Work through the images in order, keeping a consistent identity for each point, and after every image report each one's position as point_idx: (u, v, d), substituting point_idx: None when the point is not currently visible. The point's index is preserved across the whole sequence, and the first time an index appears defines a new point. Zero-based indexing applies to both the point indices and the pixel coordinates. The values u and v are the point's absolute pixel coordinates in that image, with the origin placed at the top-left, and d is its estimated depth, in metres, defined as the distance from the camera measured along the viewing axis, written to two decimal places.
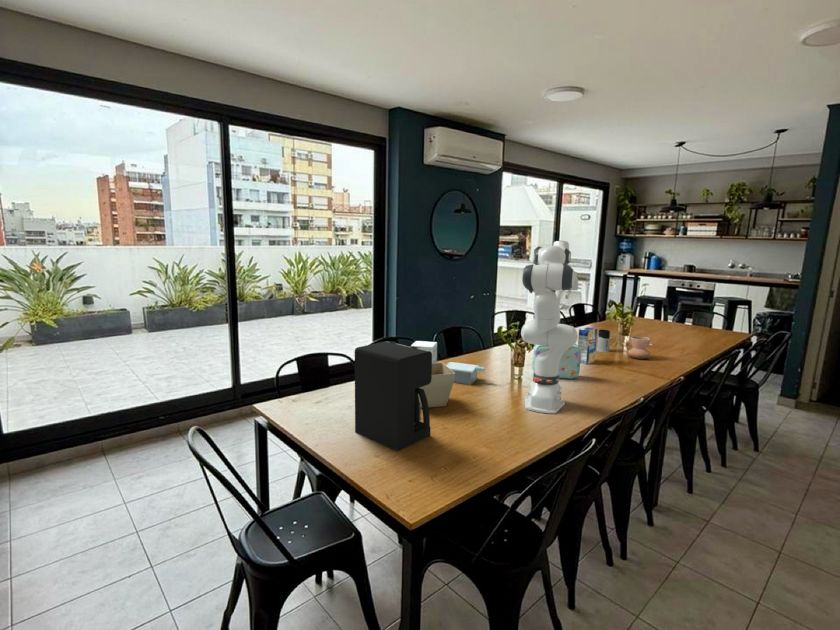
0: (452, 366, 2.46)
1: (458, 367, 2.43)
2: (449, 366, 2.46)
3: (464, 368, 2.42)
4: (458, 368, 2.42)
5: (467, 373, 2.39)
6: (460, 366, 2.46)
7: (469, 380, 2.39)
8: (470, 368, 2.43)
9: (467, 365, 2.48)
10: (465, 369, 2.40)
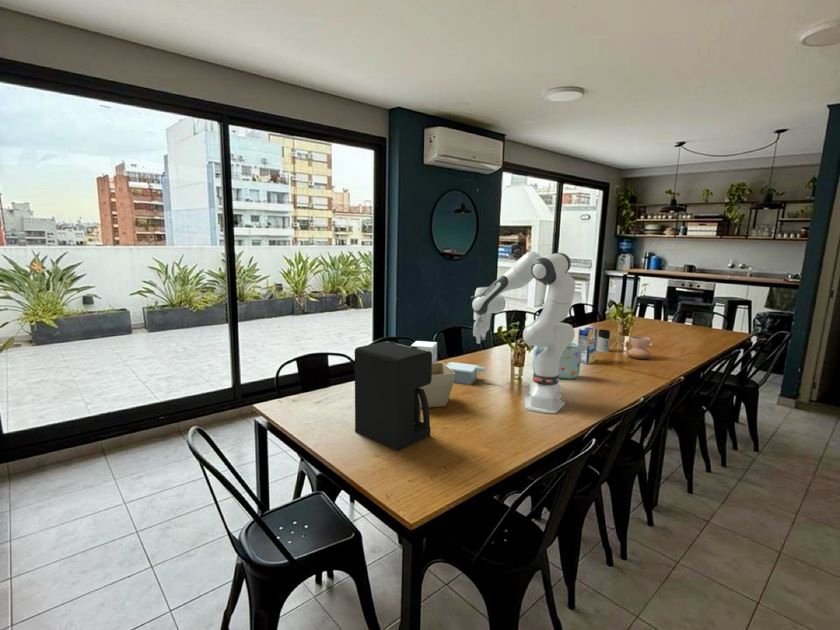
0: (452, 366, 2.46)
1: (458, 367, 2.43)
2: (449, 366, 2.46)
3: (464, 368, 2.42)
4: (458, 368, 2.42)
5: (467, 373, 2.39)
6: (460, 366, 2.46)
7: (469, 380, 2.39)
8: (470, 368, 2.43)
9: (467, 365, 2.48)
10: (465, 369, 2.40)
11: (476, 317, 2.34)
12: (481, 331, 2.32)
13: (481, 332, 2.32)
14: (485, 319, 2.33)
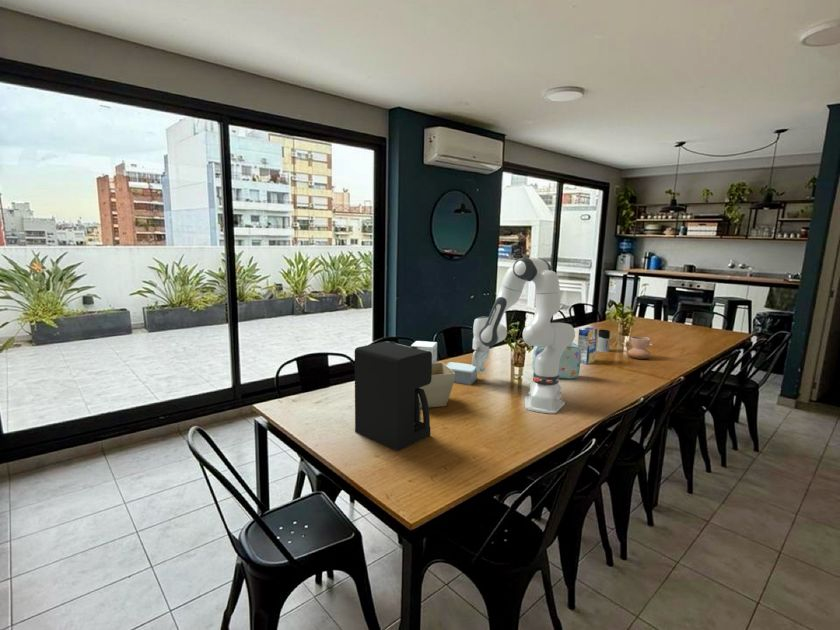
0: (452, 366, 2.46)
1: (458, 367, 2.43)
2: (449, 366, 2.46)
3: (464, 368, 2.42)
4: (458, 368, 2.42)
5: (467, 373, 2.39)
6: (460, 366, 2.46)
7: (469, 380, 2.39)
8: (470, 368, 2.43)
9: (467, 365, 2.48)
10: (465, 369, 2.40)
11: (475, 347, 2.37)
12: (480, 361, 2.34)
13: (480, 362, 2.35)
14: (484, 349, 2.36)
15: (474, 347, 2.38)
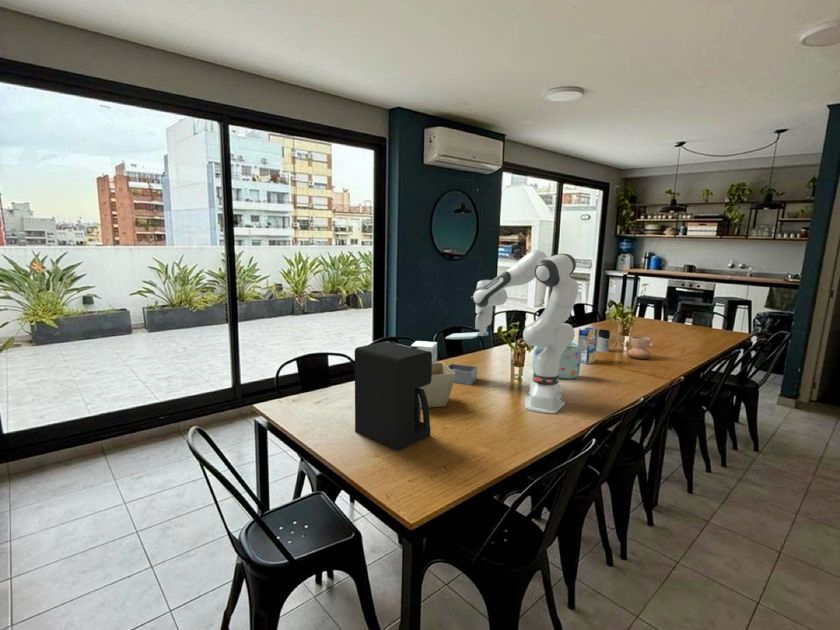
0: (455, 335, 2.42)
1: (461, 335, 2.40)
2: (452, 336, 2.42)
3: (467, 335, 2.39)
4: (461, 336, 2.39)
5: (467, 373, 2.39)
6: (463, 334, 2.43)
7: (469, 380, 2.39)
8: (473, 334, 2.39)
9: (470, 333, 2.45)
10: (468, 335, 2.37)
11: (478, 310, 2.33)
12: (483, 324, 2.31)
13: (483, 325, 2.31)
14: (487, 312, 2.32)
15: (477, 311, 2.34)
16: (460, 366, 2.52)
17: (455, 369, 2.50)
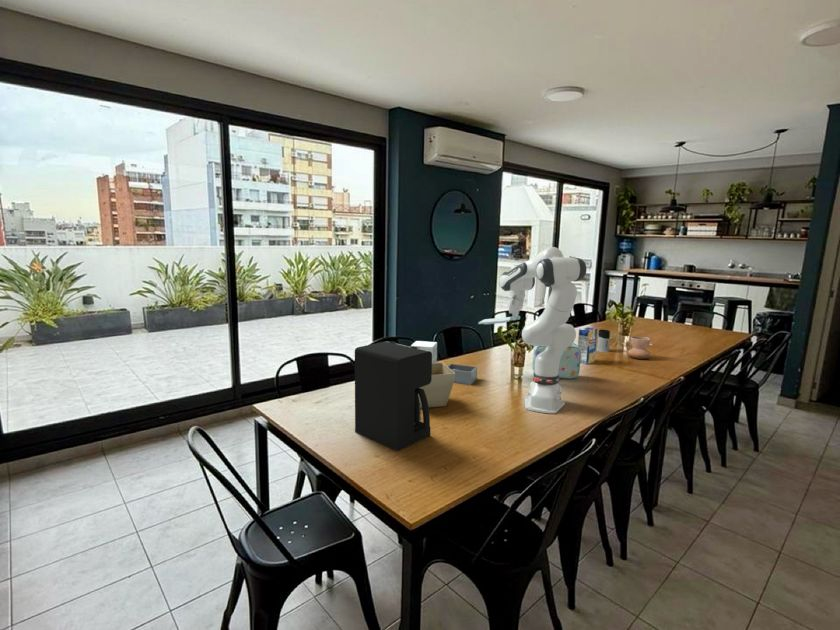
0: (487, 320, 2.49)
1: (494, 320, 2.47)
2: (484, 321, 2.49)
3: (500, 320, 2.46)
4: (494, 320, 2.46)
5: (467, 373, 2.39)
6: (495, 319, 2.50)
7: (469, 380, 2.39)
8: (505, 319, 2.46)
9: (502, 318, 2.52)
10: (501, 320, 2.44)
11: (511, 295, 2.40)
12: (516, 308, 2.38)
13: (516, 309, 2.38)
14: (520, 297, 2.39)
15: (510, 295, 2.41)
16: (460, 366, 2.52)
17: (455, 369, 2.50)
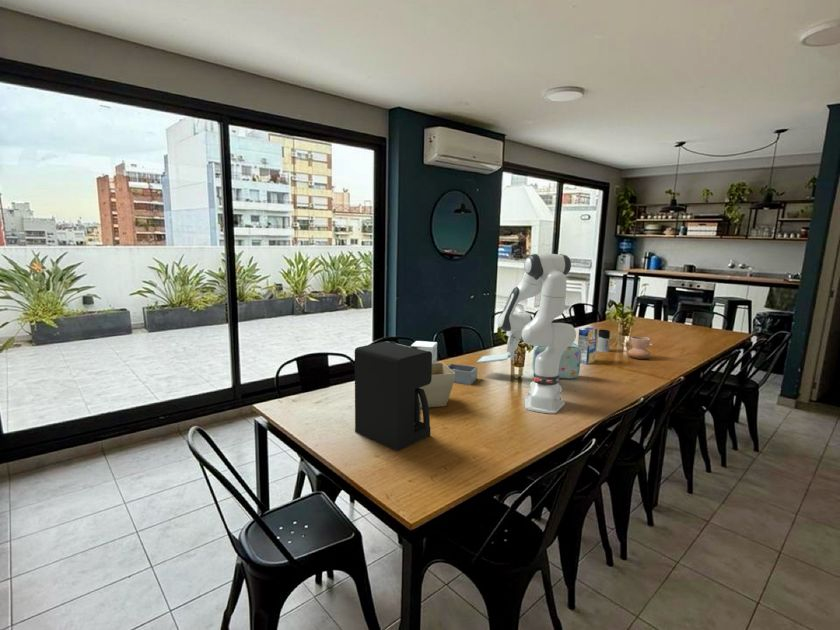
0: (486, 359, 2.53)
1: (492, 358, 2.50)
2: (483, 359, 2.53)
3: (498, 358, 2.49)
4: (492, 359, 2.49)
5: (467, 373, 2.39)
6: (494, 357, 2.53)
7: (469, 380, 2.39)
8: (503, 356, 2.50)
9: (500, 355, 2.56)
10: (499, 358, 2.48)
11: (509, 333, 2.44)
12: (514, 347, 2.41)
13: (514, 348, 2.41)
14: (518, 335, 2.43)
15: (508, 334, 2.44)
16: (460, 366, 2.52)
17: (455, 369, 2.50)
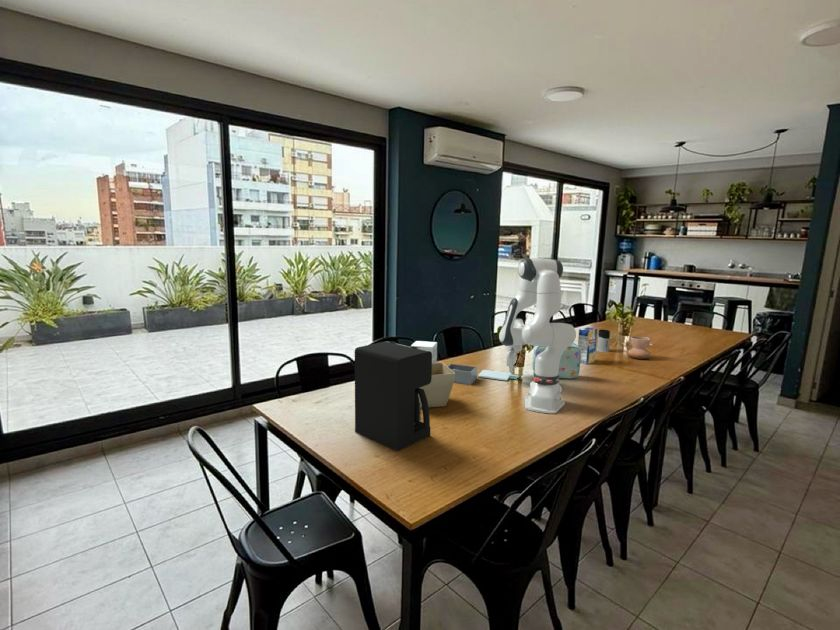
0: (486, 374, 2.54)
1: (493, 375, 2.52)
2: (484, 374, 2.54)
3: (499, 376, 2.51)
4: (493, 376, 2.50)
5: (467, 373, 2.39)
6: (494, 374, 2.54)
7: (469, 380, 2.39)
8: (504, 376, 2.51)
9: (501, 373, 2.57)
10: (500, 377, 2.49)
11: (509, 347, 2.45)
12: (514, 361, 2.42)
13: (514, 362, 2.43)
14: (517, 349, 2.44)
15: (508, 347, 2.46)
16: (460, 366, 2.52)
17: (455, 369, 2.50)
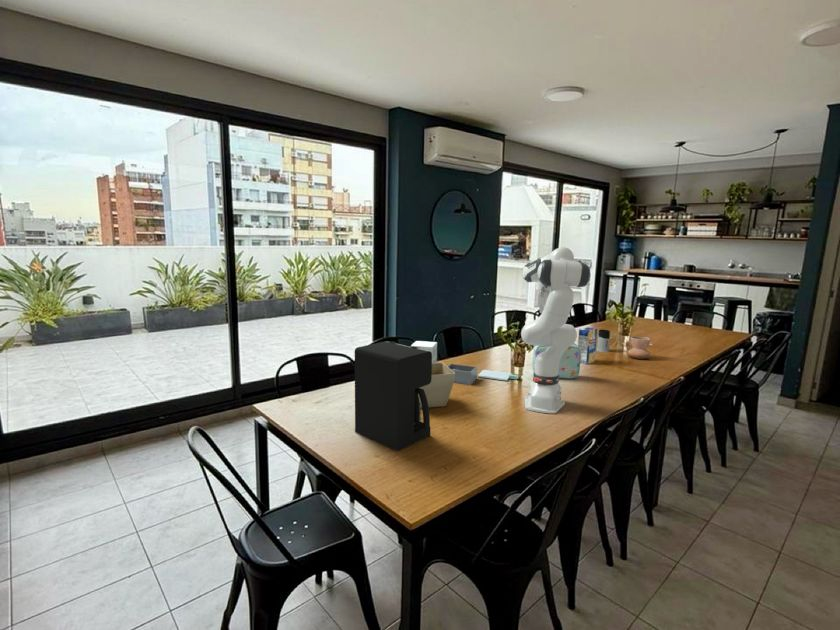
0: (486, 374, 2.54)
1: (493, 375, 2.52)
2: (484, 374, 2.54)
3: (499, 376, 2.51)
4: (493, 376, 2.50)
5: (467, 373, 2.39)
6: (494, 374, 2.54)
7: (469, 380, 2.39)
8: (504, 376, 2.51)
9: (501, 373, 2.57)
10: (500, 377, 2.49)
11: (539, 287, 2.38)
12: (545, 300, 2.35)
13: (545, 301, 2.35)
14: (548, 289, 2.36)
15: (538, 287, 2.38)
16: (460, 366, 2.52)
17: (455, 369, 2.50)
